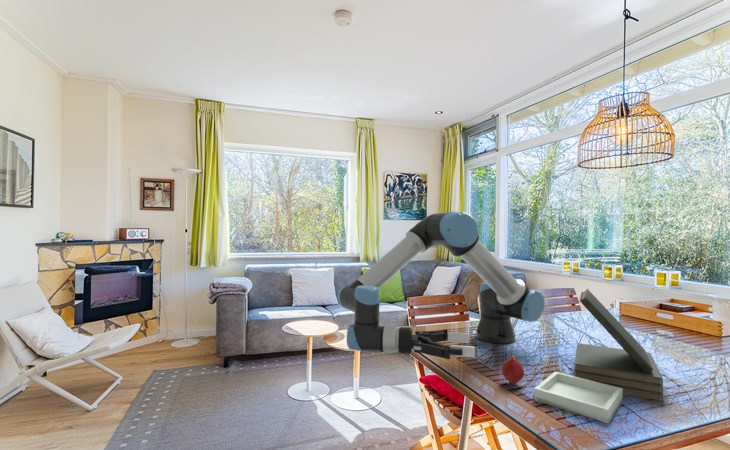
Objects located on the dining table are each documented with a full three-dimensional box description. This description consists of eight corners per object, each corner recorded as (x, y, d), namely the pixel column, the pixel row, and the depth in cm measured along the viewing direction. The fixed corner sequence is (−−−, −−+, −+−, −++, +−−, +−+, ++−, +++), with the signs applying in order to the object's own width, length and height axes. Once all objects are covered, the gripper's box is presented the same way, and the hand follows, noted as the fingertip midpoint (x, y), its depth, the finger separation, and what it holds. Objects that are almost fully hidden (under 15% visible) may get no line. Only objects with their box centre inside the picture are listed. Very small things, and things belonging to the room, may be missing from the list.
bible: (663, 402, 91) (660, 303, 92) (574, 385, 102) (572, 296, 102) (651, 373, 110) (649, 291, 111) (577, 361, 121) (576, 287, 122)
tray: (534, 400, 92) (534, 388, 92) (555, 382, 103) (555, 371, 103) (608, 423, 80) (608, 409, 81) (622, 400, 92) (622, 388, 92)
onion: (498, 380, 104) (498, 352, 105) (517, 379, 105) (517, 352, 105) (508, 388, 99) (507, 359, 99) (528, 388, 99) (527, 358, 99)
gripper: (401, 340, 120) (467, 345, 116) (394, 367, 95) (477, 373, 91) (401, 318, 120) (467, 321, 116) (394, 338, 95) (477, 344, 92)
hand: (472, 344), depth 104 cm, fingers open, 13 cm apart
